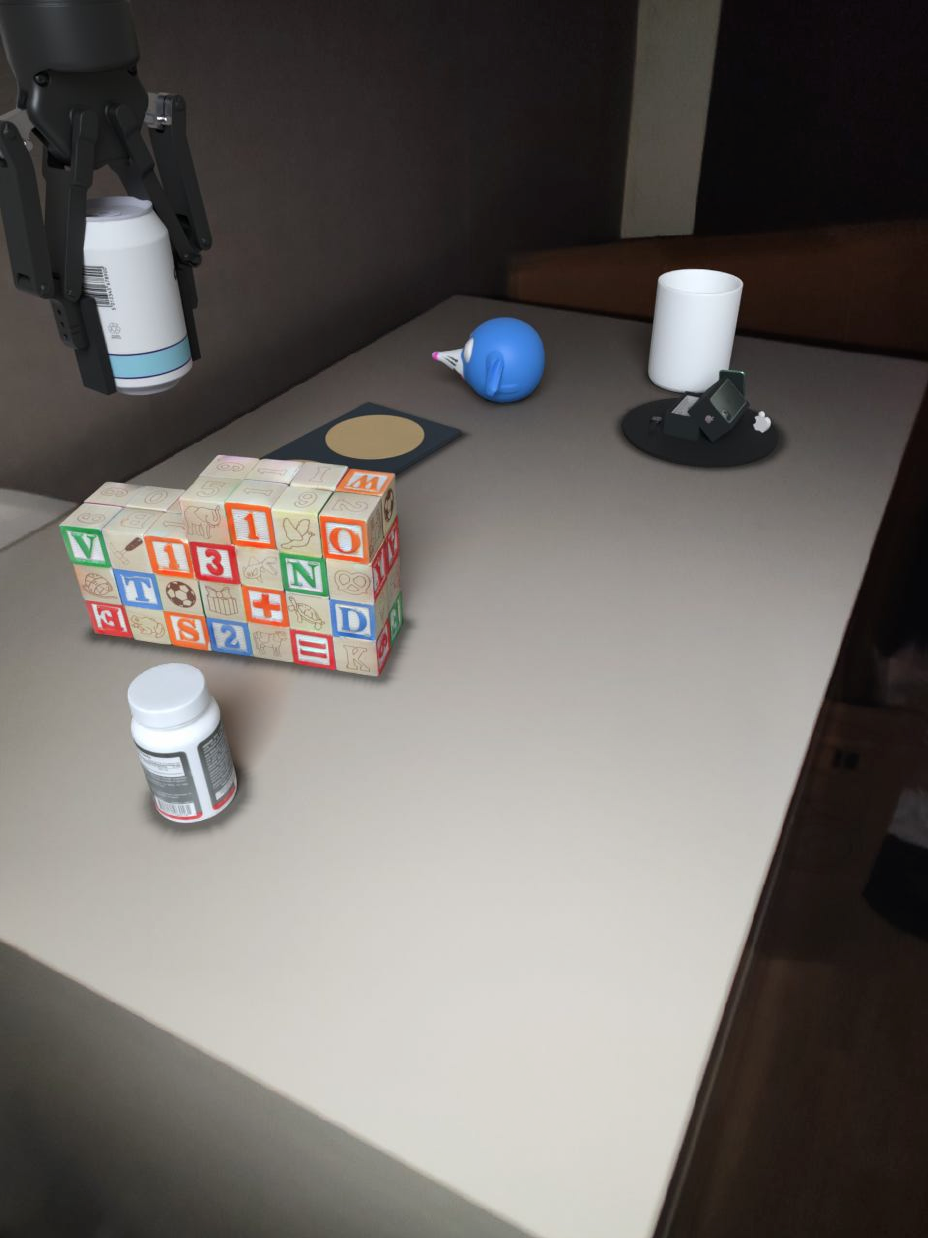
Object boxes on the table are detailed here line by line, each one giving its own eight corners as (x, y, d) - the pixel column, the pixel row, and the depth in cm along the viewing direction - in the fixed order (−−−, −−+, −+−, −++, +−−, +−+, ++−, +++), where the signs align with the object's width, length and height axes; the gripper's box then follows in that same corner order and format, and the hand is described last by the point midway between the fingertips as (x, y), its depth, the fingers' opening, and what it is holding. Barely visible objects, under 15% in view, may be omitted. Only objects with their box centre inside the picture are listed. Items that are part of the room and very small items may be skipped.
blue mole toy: (444, 372, 103) (442, 297, 98) (549, 379, 101) (552, 302, 96) (420, 417, 94) (417, 336, 89) (535, 425, 92) (539, 343, 87)
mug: (736, 360, 105) (753, 264, 99) (719, 400, 96) (736, 297, 90) (662, 351, 108) (673, 256, 101) (639, 389, 99) (650, 288, 92)
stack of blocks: (92, 637, 65) (42, 482, 57) (136, 587, 70) (95, 439, 62) (380, 677, 61) (367, 518, 54) (405, 622, 66) (396, 469, 58)
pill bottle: (220, 753, 55) (194, 645, 50) (250, 802, 52) (226, 693, 47) (143, 785, 53) (108, 677, 48) (170, 838, 50) (135, 728, 45)
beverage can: (213, 381, 67) (182, 206, 59) (126, 410, 63) (82, 226, 56) (164, 356, 71) (130, 188, 63) (80, 381, 67) (33, 206, 59)
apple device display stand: (753, 481, 82) (764, 424, 79) (599, 444, 88) (603, 391, 85) (794, 418, 93) (806, 366, 89) (653, 390, 99) (660, 340, 95)
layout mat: (191, 499, 80) (190, 493, 80) (368, 406, 96) (368, 400, 96) (289, 541, 75) (288, 534, 74) (461, 435, 90) (460, 428, 90)
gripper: (-72, 0, 44) (56, 434, 58) (234, -18, 57) (278, 342, 71) (-149, -6, 48) (-11, 405, 62) (155, -21, 61) (212, 322, 74)
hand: (144, 371), depth 66 cm, fingers closed on beverage can, 7 cm apart
